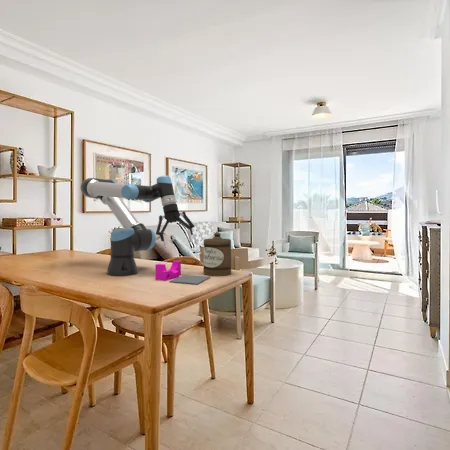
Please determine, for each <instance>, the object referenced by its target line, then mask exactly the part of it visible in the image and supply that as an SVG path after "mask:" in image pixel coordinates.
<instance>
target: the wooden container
mask: <svg viewBox="0 0 450 450" xmlns="http://www.w3.org/2000/svg"><path fill="white" fill-rule="evenodd" d="M221 234H222V233H221V232H220V231H219V232H218V231H216V232H214V234H213V235H214V236H213V237H212V238H204V239H203V263H202V264H203V271H202V272H203V275H205V276H206V275H207V276H210V277H211V276H212V277H217V276H218V277H221V276H229V275H231V274H232V240H231V239H230V238H222V237H221Z"/></svg>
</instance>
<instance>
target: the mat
mask: <svg viewBox="0 0 450 450" xmlns="http://www.w3.org/2000/svg"><path fill="white" fill-rule="evenodd" d="M209 279H211V276H206V275H195V274H194V275H193V274H191V275H190V274H183V275H179V277H178V278H175V279H171V280H169V283H172V284H173V283H175V284H183V285H193V286H194V285H195V286H196V285H197V286H198V285H201V284H202V283H204V282H205V281H208V280H209Z"/></svg>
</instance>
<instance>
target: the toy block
mask: <svg viewBox="0 0 450 450" xmlns="http://www.w3.org/2000/svg"><path fill="white" fill-rule="evenodd" d="M154 267H155V273H154V274H155V279H154V280H158V281H162V282H167V281H171V280H173V279H176V278H178V277H180V276H182V261H181V260H172V263H171V266H170V267H169V269H167V267H166V263H165V264H164V263H155V265H154Z"/></svg>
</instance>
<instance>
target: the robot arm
mask: <svg viewBox="0 0 450 450" xmlns="http://www.w3.org/2000/svg"><path fill="white" fill-rule="evenodd" d="M80 190H81V193H82V195H83V196H85V197H87V198H90V199H99V200H100V202H101V203H102V204H104V205H106V206H107V207H108V208H109V210H110V211H111V213H113V216H115V218H116V220H117V221H118V222H119V223H120V225H121V226H122V227H121V228H116V229H113V230H112V231H111V232H110V260H109V263H108V266H107V269H106V274H107V275H110V276H117V277H119V276H120V277H122V276H123V277H125V276H131V275H136V274H138V267H137V263H136V261H135V252H141V251H142V252H143V251H149V250H151V249H152V248H154V247H155V245H156V243H157V236H159V237H160V241H161V242H163V246H164V248H168V244H167V239H166V234H164V232H165V230H166V229H167V227H168V225H169V223H170V224H172V223H177V222H178V223H179V224H181V225H182V226H183V227H185V228H186V229H187V231H186V232H187V235H188V240H189V243H192V242H193V237H192V236H193V234H194V233H193V228H195V224H194V223H193V222H192V220H191V219H190V218H189V216H187V214H186V212H185V211H181V212H179V207H178V204H177V200H176V199H177V198H176V194H175V190H174V186H173V182H172V179H171V177H170V176H169V175H161V176H158V177H157V178H156V183H155V184H153V185H140V184H134V183H118V182H117V181H115V180H112V179H110V178H109V179H107V178H106V179H104V178H98V177H97V178H95V177H88V178H86V179H84V180H82V182H81V184H80ZM123 199H126V200H131V201H133V200H136V201H138V200H140V201H143V202H145V203H152V202H154V201H155V200H158V199H160V201H161V202H160V203H161V205H162V209H163V215H159V216H158V223H157V229H156V232H155V231H154V230H152V229H150V228H147V227H146V226H145V224H144V223H142V222H139V221H138V220H137V217H135V215H134V214H133V213H132V212H131V209H129V207H128V206H127V204H126V203H125V202H124V200H123ZM180 216H181V217H182V218H183V219H184V220H185V221H184V220H183V219H182V218H181V217H180ZM164 219H165V220H166V221H165V223H164V225H163V227H162V224H163V220H164ZM161 228H162V229H161ZM160 230H161V231H160ZM156 235H157V236H156Z"/></svg>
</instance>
